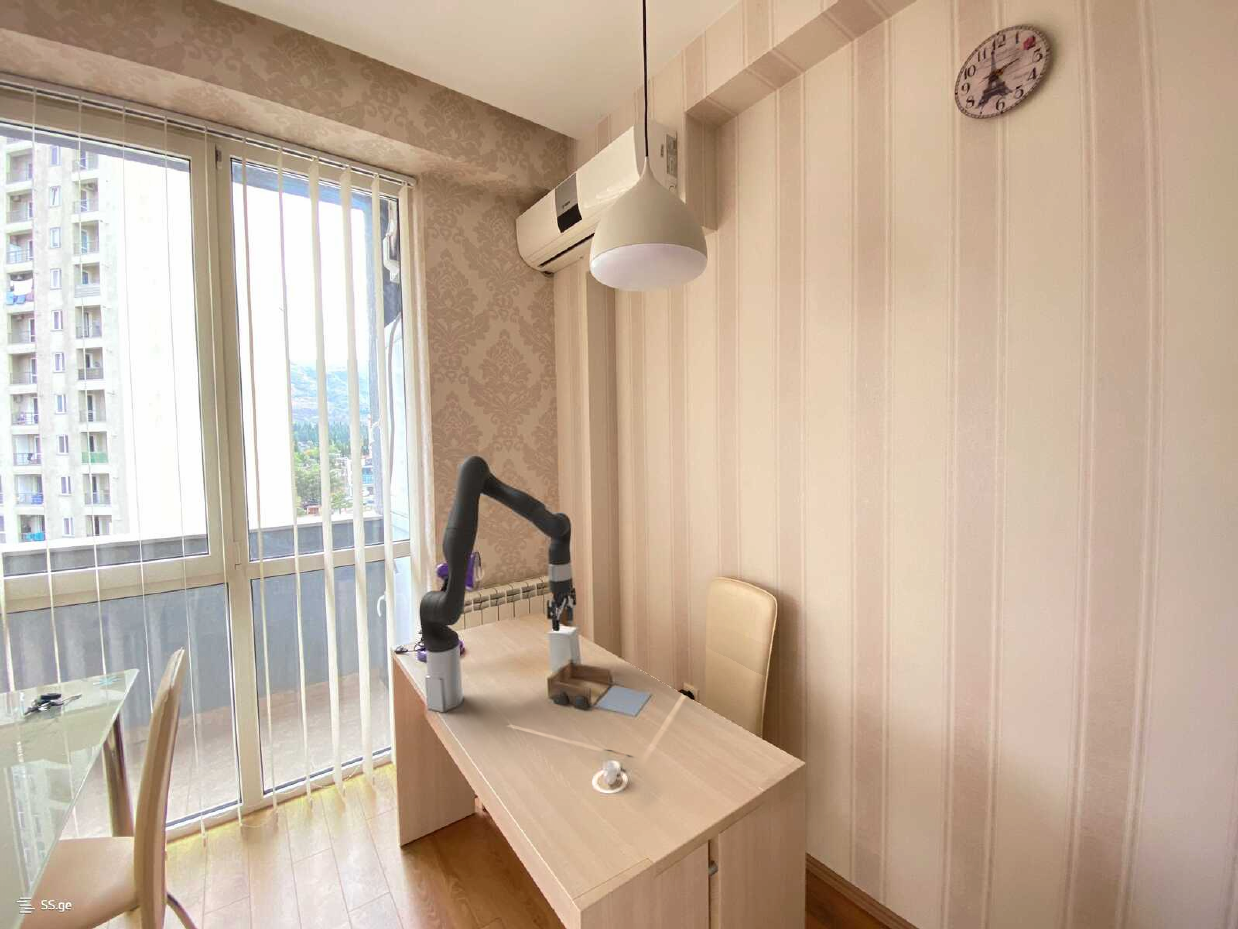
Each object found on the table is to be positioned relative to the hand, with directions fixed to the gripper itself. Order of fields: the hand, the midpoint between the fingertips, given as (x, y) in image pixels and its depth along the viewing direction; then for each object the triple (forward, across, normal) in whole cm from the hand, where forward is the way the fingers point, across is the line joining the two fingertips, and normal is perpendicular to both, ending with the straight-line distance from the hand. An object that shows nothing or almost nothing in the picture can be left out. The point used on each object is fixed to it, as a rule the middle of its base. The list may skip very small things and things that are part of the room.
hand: (563, 625), depth 163 cm
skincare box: (+16, +1, 0) cm, 16 cm away
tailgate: (+15, +11, +20) cm, 27 cm away
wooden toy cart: (+16, +11, +12) cm, 23 cm away
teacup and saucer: (+16, +39, +38) cm, 56 cm away
